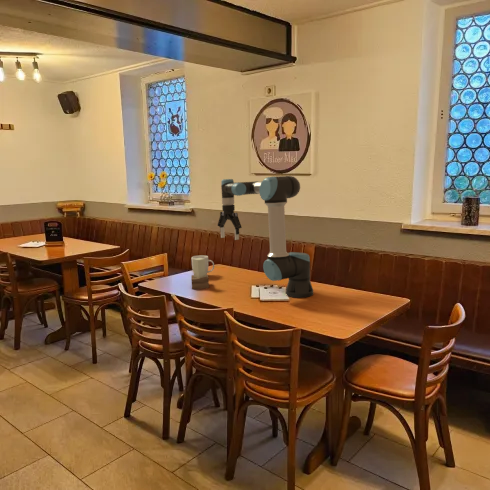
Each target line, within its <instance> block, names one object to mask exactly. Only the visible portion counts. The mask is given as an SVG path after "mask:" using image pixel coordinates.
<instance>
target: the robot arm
mask: <svg viewBox="0 0 490 490" xmlns="http://www.w3.org/2000/svg"><path fill="white" fill-rule="evenodd" d="M220 185H221V186H220V187H221V188H220V189H221V204H222V206H221V207H222V211H220V213H219V218H218V221H217V226H218V227H219V232H220V238H221V239H222V238H223V239H224V238H225V237H226V232H225V229H226V228H225V225H226V223H227V221H228V220H229V221H230V222H231V223H232V225H233V227H234V241H236V240H237V241H238V240H240V229H242V225H241V222H240V219H239V216H238V215H239V214H238V212H234V211H235V196H237V197H238V196H245V195H259V196H260V199H261V200H263V201H264V205H265V206H267V215H268V216H267V219H268V234H269V237H268V238H269V239H268V240H269V252H268V254H267V256H266V257H267V258H266V260H264V262H263V265H262V267H263V272H264V274H265V276H266V278H267V279H269V280H270V281H272V282H274V281H281V280H287V279H288V281H287V285H286V288H285V294H287V295H288V296H287V295H286V296H287V297H291V298H297V299H298V298H300V299H301V298H309V297H311V296H313V295H314V288H313V286H312V283H311V261H310V259H311V258H310V255H309V253H305V252H296V251H290V252H287V240H286V238H287V235H286V233H287V232H286V214H285V212H286V211H285V206H286V204H287V203H288V199H291V198H294V197H296V196H297V195H298V194H299V193H300V192H301V191H300V190H301V183H300V181H299V180H298V179H297V178H296V177H295V176H292V175H285V176H283V175H282V176H268V177H265V178H264V179H263V180H261V181H260V180H256V181H242V182H241V181H240V182H234V179H232V178H226V179H225V178H223V179H221V184H220Z"/></svg>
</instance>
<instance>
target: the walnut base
mask: <svg viewBox="0 0 490 490" xmlns="http://www.w3.org/2000/svg"><path fill="white" fill-rule="evenodd" d="M209 284H210V283H209V274H208V273H207V274H206V277H202V278H196V277H194V274H191V290H199V289H209V288H210V285H209Z"/></svg>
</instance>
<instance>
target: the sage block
mask: <svg viewBox="0 0 490 490" xmlns="http://www.w3.org/2000/svg"><path fill="white" fill-rule="evenodd" d="M193 268H194V272H193V275H194V277H196V278H202V277H206V273H205V259H203V258H196V259H193Z"/></svg>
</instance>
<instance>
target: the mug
mask: <svg viewBox="0 0 490 490" xmlns="http://www.w3.org/2000/svg"><path fill="white" fill-rule="evenodd" d="M196 258H203V259H205V273H206V274H208V273H212V272H213V271H214V269H215V263H214V261H213V260H211V259H209V256H208V255H203V254H201V255H193V256H191V268H192V272H193V273H194V268H193V259H196ZM209 262H211V263H212V268H211V270H209Z"/></svg>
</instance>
